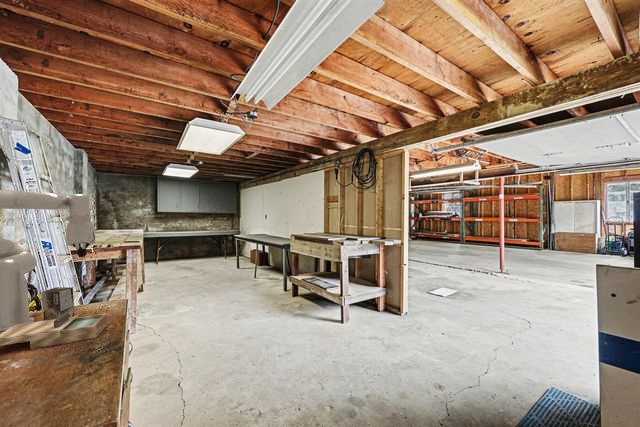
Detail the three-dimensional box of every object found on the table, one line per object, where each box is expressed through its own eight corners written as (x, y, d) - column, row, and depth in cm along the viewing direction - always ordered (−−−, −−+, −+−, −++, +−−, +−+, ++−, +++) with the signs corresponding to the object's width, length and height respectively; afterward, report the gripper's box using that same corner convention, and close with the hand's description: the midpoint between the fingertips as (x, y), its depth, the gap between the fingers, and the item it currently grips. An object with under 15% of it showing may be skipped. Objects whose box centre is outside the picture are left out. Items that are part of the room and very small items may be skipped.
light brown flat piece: (-11, 347, 98) (-12, 333, 98) (17, 329, 113) (16, 317, 113) (60, 336, 106) (59, 323, 106) (78, 320, 120) (77, 309, 120)
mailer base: (30, 348, 103) (29, 335, 103) (50, 332, 116) (50, 321, 116) (95, 338, 111) (94, 326, 110) (107, 324, 124) (107, 313, 123)
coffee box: (75, 321, 128) (73, 287, 127) (61, 327, 122) (59, 291, 121) (58, 320, 129) (56, 286, 128) (43, 326, 122) (41, 291, 122)
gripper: (56, 220, 126) (58, 259, 127) (96, 219, 132) (98, 256, 133) (64, 219, 133) (66, 257, 134) (102, 218, 139) (103, 254, 139)
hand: (82, 256), depth 133 cm, fingers closed
